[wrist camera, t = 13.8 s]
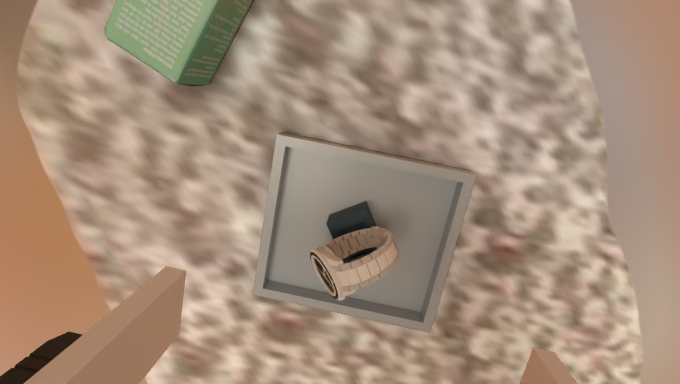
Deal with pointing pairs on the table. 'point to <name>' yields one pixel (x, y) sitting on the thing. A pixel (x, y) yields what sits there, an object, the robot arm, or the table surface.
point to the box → (177, 34)
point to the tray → (388, 212)
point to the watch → (354, 252)
